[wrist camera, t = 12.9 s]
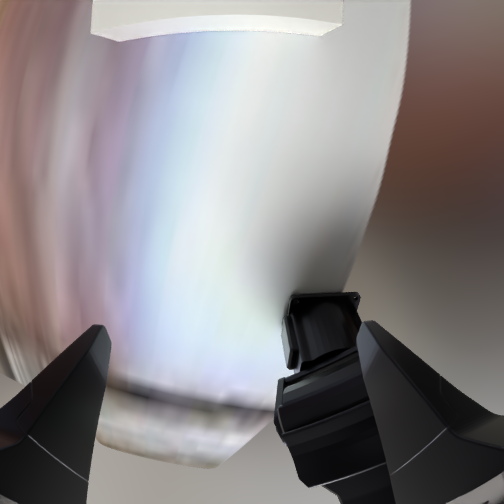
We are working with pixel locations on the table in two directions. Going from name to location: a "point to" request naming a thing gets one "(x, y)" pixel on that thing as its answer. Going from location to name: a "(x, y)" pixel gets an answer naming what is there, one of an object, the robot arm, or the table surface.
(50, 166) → the table surface
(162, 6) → the socket block
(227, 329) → the table surface
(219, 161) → the table surface
